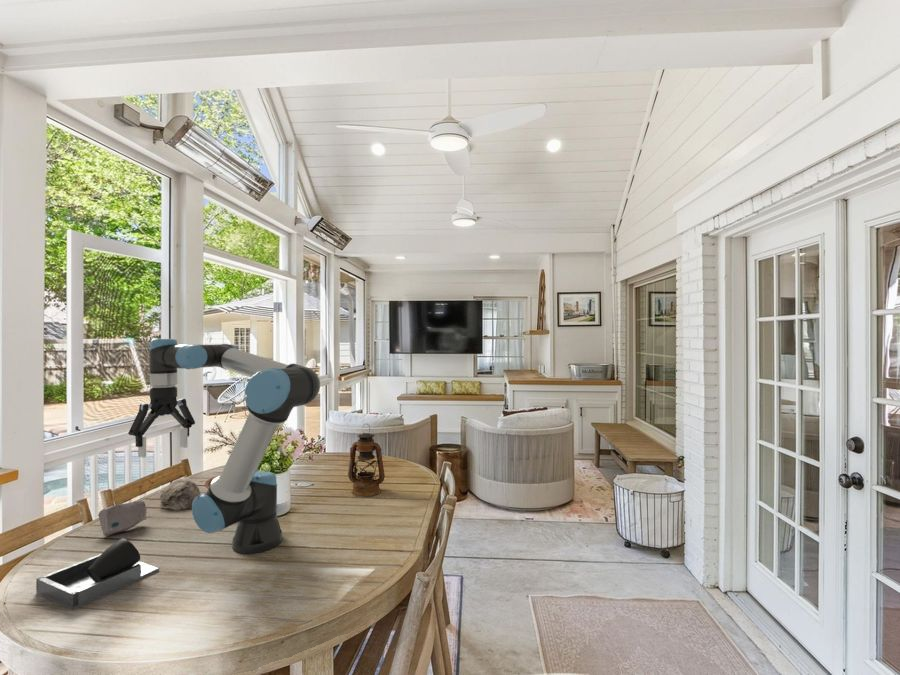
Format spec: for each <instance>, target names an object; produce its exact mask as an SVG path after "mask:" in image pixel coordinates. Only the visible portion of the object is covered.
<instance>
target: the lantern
mask: <svg viewBox="0 0 900 675" xmlns="http://www.w3.org/2000/svg"><path fill="white" fill-rule="evenodd" d="M364 425H367V426H368V427H369V432H367V433H365V432H362V433H360V434H358V435H357V437H358V438H359V439H358V440H357V441H356V442H353V443H352V444H351V447H349V448H350V450H349V454H350V455H349V456H350V457H349V464H348V470H347V471H348V472H347V477H348V479H349V481H350V482H352V483H353V484H352V489H351V492H350V494H351V493H352V494H353V495H352V494H351V495H352V496H354V495H355V496H354V497H358V496H364V497H365V496H369V497H372V496H371V495H374V496H376V495H375V494H377V495H379V494H380V493H381V492H382V490H381V488H380V484H382V483H383V482H384V480H385V476H386V475H385V469H384V461H383V457H382V448H381V446H380V444H378V443H377V442H375V440H374V437H375V436H376V435H375V434H373V433H370V432H371V427H370V425H369V424H368V423H364V424H363V426H362V427H364ZM374 451H375V455H376V457H375V455H374V454H373V453H374ZM357 452H359V455H358V456H357V460H356V454H357ZM375 458H376V460H375ZM355 460H356V461H355ZM372 460H373V461H372ZM368 461H371V462H368ZM358 462H362V463H366V464H367V465H366V466H364V467H363V468H362V467H361V466H359V465H358ZM373 464H375V466H374V465H373ZM370 466H371V467H372V468H373V469H374V470H373V471H367V470H365V469H367V468H368V467H370ZM377 467H378V474H376V470H377ZM358 470H360V471H359V472H358ZM377 477H378V478H377ZM380 491H381V492H380ZM379 492H380V493H379ZM378 493H379V494H378Z"/></svg>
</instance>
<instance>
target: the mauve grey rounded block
mask: <svg viewBox="0 0 900 675" xmlns="http://www.w3.org/2000/svg"><path fill="white" fill-rule="evenodd" d="M147 508H148V507H147V506H146V503H145V501H144V500H135V501H134V500H133V501H132V502H126V503H123V502H122V503H119V504H116V505H111V506H107V507H105V508H103V509H102V510H100V511H99V512H98V513H97V516H98V520H99V523H100V525H99V526H100V528H101V531H102V533H103V536H105V537H110V536H112V535H115V534H118V533H122V532H126V531H128V530H130V529H132V528H133V527H135V526H136V525H138V524H141V522H143V521H145V520H147V510H148V509H147Z"/></svg>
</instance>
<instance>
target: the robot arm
mask: <svg viewBox="0 0 900 675" xmlns="http://www.w3.org/2000/svg"><path fill="white" fill-rule="evenodd" d="M148 353H149V385H150V388H149V398H150V399H149V400H150V402H149V403H140V404H139V408H138V412H137V414H136V416H135V418H134V420H133V422H132V424H131V427H130V429H129V431H128V435H129V436H134V437H135V447H137V457H138V458H147V435H145V434H146V433H147V431H148V430H149V428H150V427H151V426H152V424H153V423H154V421H156V419H157V418H159V417H161V416H165V415H171V416H172V417H173V418H174V419H175V421H177V422H178V424H180V425H181V426H182V427H179V447H180V448H188V447H189V446H188V437H190V428H192V426H193V425H195V424H196V421H195V419H194V417H193V415H192V413H191V411H190V409H189V406H188V405H187V399H186V398H178V399H177V397H178V386H176V385H177V384H178V369H185V370H195V369H201V368H217V367H218V368H221V369H224V370H228V371H230V372H232V373H236V374H239V375H241V376H244V377H246V378H247V377H248V378H249V379H248V382H247V383H246V386H245V390H244V395H245V397H244V399H245V400H244V401H245V404H246V409H247V411H248V413H249V414H248V416H247V418H246V419H245V423H244V424H243V426H242V428H241V431H240V433H239V434H238V437H237V440H236V441H235V443H234V446H233V447H232V449H231V452H230V454H229V456H228V458H227V461H226V463H225V465H224V467H223V469H222V471H221V474H219V475H220V476H218V475H216V476H217V477H216V478H214V479H213V481H212V482H211V484H210V486H209V488H207V490H206V491H205V492H203V493H200V495H199V496H197V497H196V498H195V499H194V501H193V504H192V506H191V513H192V516H193V520H194V523H195V524H196V526H197V527H198V529H199V530H201V531H202V532H204V533H206V534H214V533H216V532H217V533H218V532H219V531H221V532H222V530H224V529H227V528H228V527H230V526H233V525H235V524H237V525H236V528H235V532H234V536H233V537H232V541H231V543H232V544H231V545H232V546H231V547H232V550H233V551H234V552H236V553H239V554H247V555H248V554H257V553H258V554H259V553H262V552H266V551H268V550H271V549H274V548H276V547H278V546H279V545H280V544H281V543H282V541H283V531H282V529H281V525H280V522H279V520H278V516H277V512H278V511H277V509H278V507H277V506H278V502H277V501H278V494H277V493H278V484H277V483H278V482H277V476H276V474H275V473H273V472H271V471H267V470H266V471H264V470H258V468H259V466H260V464H261V462H262V459H263V458H264V456H265V454H266V451H267V450H268V447H269V446H270V443H271V441H272V440H273V438H274V435H275V433H276V431H277V429H278V426H279V425H280V424H283V423H285V422H287V420H288V418H289V417H290V415H291V413H292V411H293V409H294V408H296V407H302V406H305V405H307V404H310V403H311V402H312V401H314V400H315V399H316V398H317V397H318V395H319V393H320V390H321V380H320V377H319V375H318V374H317V372H316V371H314V370H313V369H312V368H310V367H307V366H304V365H301V364H297V363H290V364H286V363H282V362H280V361H276V360H272V359H269V358H267V357H263V356H260V355H257V354H253V353H250V352H247V351H243V350H241V349H239V348H238V347H237V346H236V345H234V344H228V343H221V344H220V343H219V344H217V343H216V344H178V341H177V339H175V338H153V339H151V340H150V343H149V352H148ZM177 406H178V408H179V410H180V411H179V410H178V409H177V408H176V407H177ZM149 410H150V411H149ZM148 411H149V413H148ZM180 412H181V413H180ZM146 416H147V417H146Z"/></svg>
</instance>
